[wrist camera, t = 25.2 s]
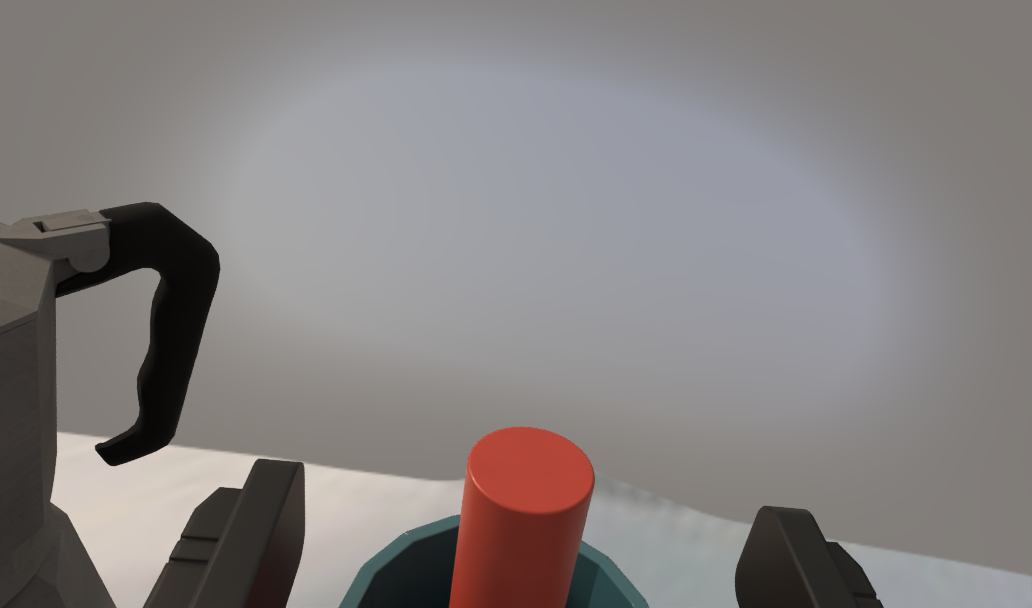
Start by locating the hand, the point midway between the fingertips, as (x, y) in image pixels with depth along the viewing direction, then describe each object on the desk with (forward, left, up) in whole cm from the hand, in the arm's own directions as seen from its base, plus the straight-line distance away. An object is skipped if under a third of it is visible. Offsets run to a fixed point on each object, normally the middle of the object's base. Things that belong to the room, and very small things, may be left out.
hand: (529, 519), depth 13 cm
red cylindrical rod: (0, +1, -14) cm, 14 cm away
